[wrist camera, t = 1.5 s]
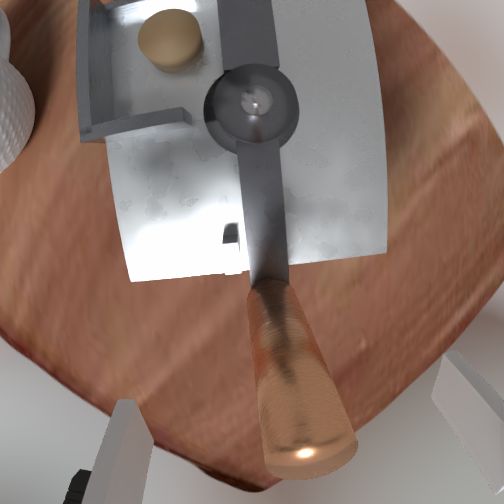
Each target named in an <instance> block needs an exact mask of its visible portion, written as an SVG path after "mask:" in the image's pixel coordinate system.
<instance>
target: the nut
mask: <svg viewBox="0 0 504 504" xmlns="http://www.w3.org/2000/svg"><path fill="white" fill-rule="evenodd" d="M138 46H139V48H140V50H141V52H142V53H143V54H144V55H145V56H146V57H147V58H148V59H149V60H150V62H151V63H152V64H153V65H154V66H155V67H156V68H157V69H159V70H160V71H162V72H164V73H168V74H179V73H183V72H186V71H188V70H190V69H191V68H193V67H194V66H195V65H196V64H197V63H198V62H199V61H200V59H201V57H202V55H203V52H204V43H203V39H202V34H201V30H200V26H199V23H198V21H197V19H196V18H195V17H194V16H193V15H192V14H191V13H190V12H188V11H186V10H183V9H177V8H170V9H165V10H161V11H159V12H157V13H155V14H153V15H152V16H150V17H149V18H148V19H147V20H146V21H145V22H144V23H143V25H142V26H141V28H140V30H139V33H138Z"/></svg>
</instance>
